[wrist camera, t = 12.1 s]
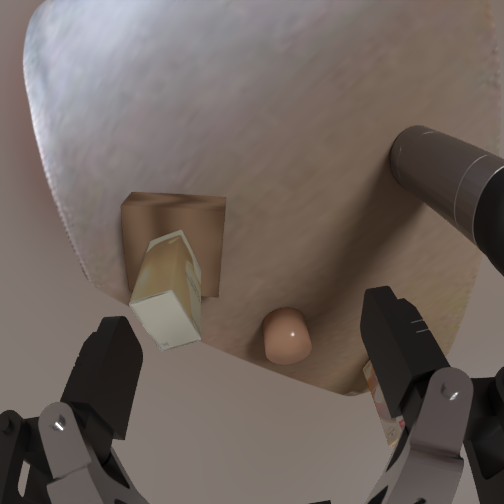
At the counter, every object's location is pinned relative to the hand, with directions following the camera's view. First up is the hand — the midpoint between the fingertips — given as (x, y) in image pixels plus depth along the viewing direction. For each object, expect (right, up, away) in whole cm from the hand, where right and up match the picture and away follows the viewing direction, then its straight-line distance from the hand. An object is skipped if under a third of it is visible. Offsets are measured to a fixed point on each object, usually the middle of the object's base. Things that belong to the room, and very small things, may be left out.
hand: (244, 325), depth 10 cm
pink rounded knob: (+5, -9, +39) cm, 41 cm away
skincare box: (-9, +2, +26) cm, 27 cm away
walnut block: (-10, +5, +30) cm, 32 cm away
